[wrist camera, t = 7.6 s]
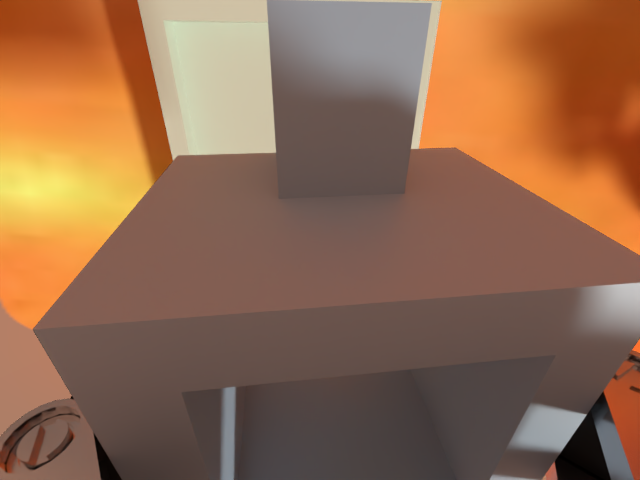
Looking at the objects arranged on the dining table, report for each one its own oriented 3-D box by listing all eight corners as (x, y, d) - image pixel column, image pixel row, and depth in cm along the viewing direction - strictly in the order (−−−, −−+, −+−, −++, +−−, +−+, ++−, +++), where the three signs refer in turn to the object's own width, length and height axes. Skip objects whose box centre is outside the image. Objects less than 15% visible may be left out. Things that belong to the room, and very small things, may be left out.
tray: (423, 5, 19) (441, 0, 17) (391, 242, 28) (401, 258, 25) (151, -1, 18) (136, -6, 16) (203, 253, 26) (197, 271, 24)
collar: (415, 338, 13) (506, 529, 8) (220, 355, 12) (182, 581, 7) (482, 17, 8) (894, -29, 3) (147, 12, 7) (-206, -68, 2)
